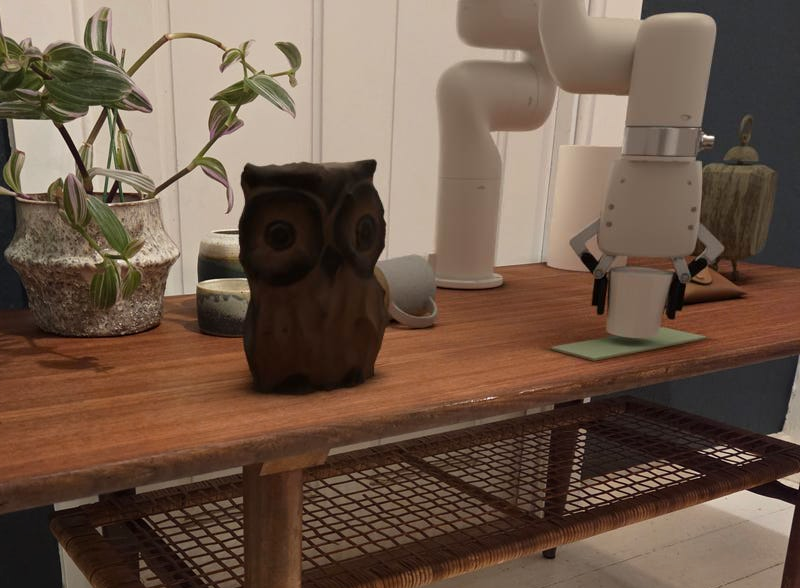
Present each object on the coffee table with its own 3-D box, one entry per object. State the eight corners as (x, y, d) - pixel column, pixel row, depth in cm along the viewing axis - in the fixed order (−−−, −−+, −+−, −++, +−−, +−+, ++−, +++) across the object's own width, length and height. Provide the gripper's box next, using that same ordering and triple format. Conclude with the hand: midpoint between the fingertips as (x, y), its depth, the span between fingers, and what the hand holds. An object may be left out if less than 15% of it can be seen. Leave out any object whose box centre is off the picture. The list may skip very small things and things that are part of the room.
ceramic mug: (348, 316, 113) (350, 255, 110) (398, 309, 117) (401, 250, 114) (401, 333, 105) (405, 267, 102) (452, 325, 109) (457, 262, 106)
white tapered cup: (632, 341, 96) (642, 276, 93) (587, 329, 101) (595, 267, 99) (677, 335, 99) (688, 272, 96) (631, 324, 104) (640, 263, 102)
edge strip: (593, 361, 93) (593, 358, 93) (550, 349, 98) (550, 346, 97) (706, 338, 103) (706, 336, 103) (662, 329, 108) (662, 327, 108)
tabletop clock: (704, 271, 153) (731, 115, 144) (760, 276, 148) (792, 115, 139) (681, 281, 142) (708, 113, 133) (741, 287, 137) (774, 114, 128)
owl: (390, 372, 87) (399, 158, 80) (347, 407, 77) (353, 163, 69) (274, 359, 92) (272, 155, 84) (217, 390, 81) (210, 159, 73)
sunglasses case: (673, 304, 120) (658, 258, 121) (633, 322, 126) (619, 278, 127) (752, 294, 129) (738, 251, 130) (711, 311, 135) (698, 270, 136)
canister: (629, 263, 160) (646, 146, 152) (620, 274, 148) (638, 147, 141) (554, 258, 165) (567, 144, 157) (540, 268, 153) (553, 145, 146)
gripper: (742, 147, 94) (712, 313, 101) (574, 144, 98) (556, 304, 105) (755, 148, 87) (722, 327, 94) (574, 145, 91) (554, 316, 98)
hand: (634, 313), depth 99 cm, fingers closed on white tapered cup, 6 cm apart
